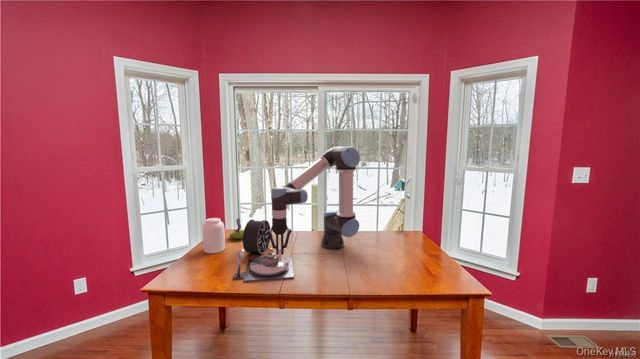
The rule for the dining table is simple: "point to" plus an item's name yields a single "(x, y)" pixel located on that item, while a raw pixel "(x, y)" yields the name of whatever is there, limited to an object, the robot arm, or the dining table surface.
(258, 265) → the turntable
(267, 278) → the turntable base
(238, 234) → the figurine
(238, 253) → the dial stand
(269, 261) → the cover
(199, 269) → the dining table surface
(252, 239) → the wheel rim
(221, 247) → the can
